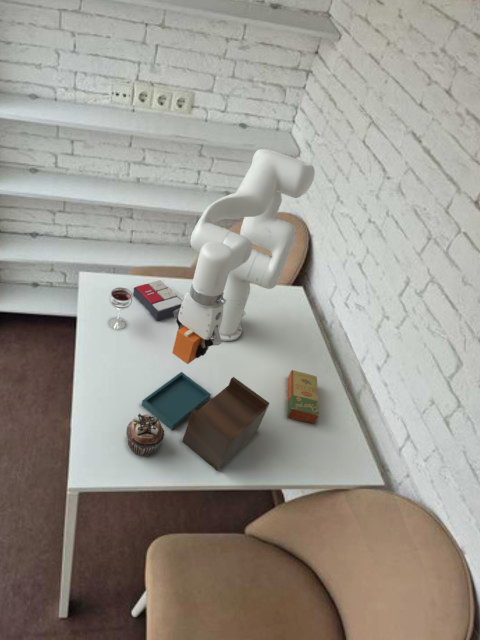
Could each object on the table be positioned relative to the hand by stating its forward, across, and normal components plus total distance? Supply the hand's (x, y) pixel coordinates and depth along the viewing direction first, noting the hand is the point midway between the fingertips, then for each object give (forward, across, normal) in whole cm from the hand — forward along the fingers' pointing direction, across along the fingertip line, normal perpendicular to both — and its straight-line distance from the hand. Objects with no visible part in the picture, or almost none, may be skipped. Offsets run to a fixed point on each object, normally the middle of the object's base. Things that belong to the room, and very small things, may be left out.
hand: (191, 348), depth 136 cm
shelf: (+21, -16, 0) cm, 27 cm away
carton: (+21, -24, -29) cm, 44 cm away
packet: (+1, 0, 0) cm, 1 cm away
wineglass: (+21, +34, -10) cm, 41 cm away
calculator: (+21, +33, -28) cm, 48 cm away
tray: (+21, 0, 0) cm, 21 cm away
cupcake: (+22, -3, +17) cm, 28 cm away
